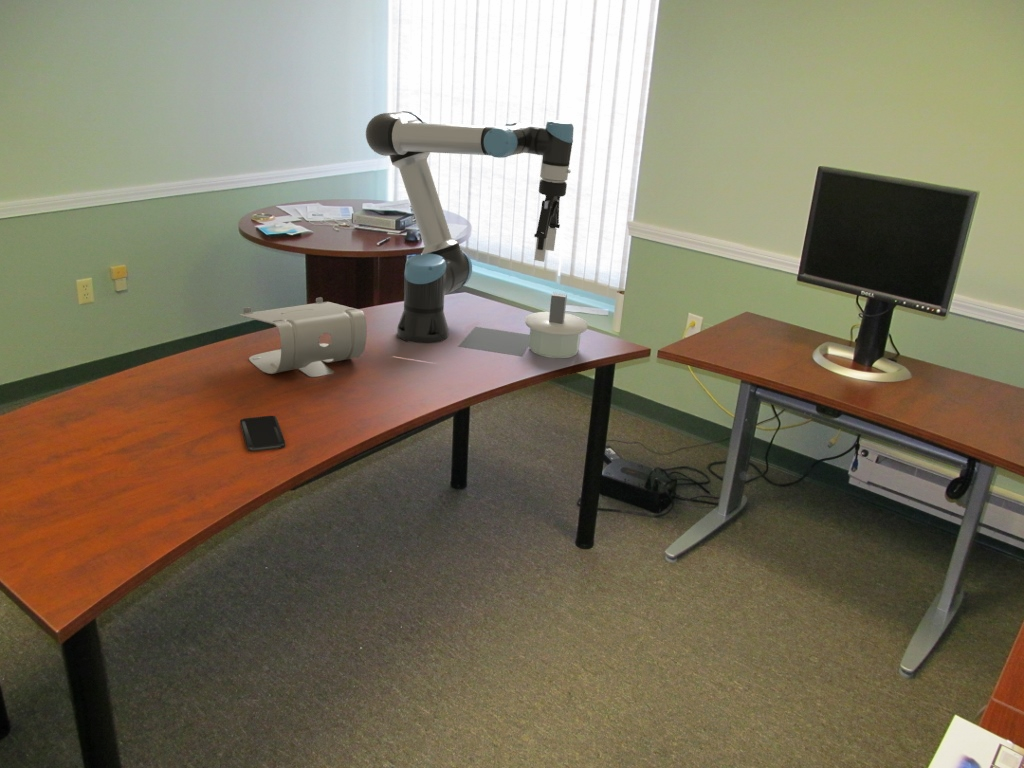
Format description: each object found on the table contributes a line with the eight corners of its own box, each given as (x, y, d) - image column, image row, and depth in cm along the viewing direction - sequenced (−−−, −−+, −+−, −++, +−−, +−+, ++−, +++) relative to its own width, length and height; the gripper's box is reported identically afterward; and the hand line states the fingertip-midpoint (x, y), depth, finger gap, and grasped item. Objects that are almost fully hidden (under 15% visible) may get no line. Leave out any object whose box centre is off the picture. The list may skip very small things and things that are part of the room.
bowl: (525, 354, 235) (527, 328, 232) (535, 339, 248) (537, 314, 245) (573, 362, 233) (576, 335, 230) (580, 346, 245) (583, 321, 242)
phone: (247, 449, 170) (239, 418, 182) (247, 453, 170) (239, 423, 183) (286, 444, 173) (276, 414, 185) (286, 449, 173) (276, 419, 186)
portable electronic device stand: (278, 387, 201) (276, 327, 195) (240, 356, 218) (237, 300, 212) (369, 368, 217) (370, 313, 211) (327, 341, 233) (326, 288, 227)
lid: (518, 334, 231) (521, 299, 227) (531, 316, 248) (534, 282, 243) (581, 344, 228) (585, 308, 224) (590, 324, 244) (594, 291, 240)
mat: (457, 347, 236) (457, 346, 236) (475, 327, 254) (475, 326, 253) (521, 357, 233) (521, 356, 233) (535, 336, 250) (535, 335, 250)
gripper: (558, 188, 213) (548, 267, 222) (574, 175, 236) (565, 247, 244) (530, 184, 214) (521, 263, 223) (549, 172, 237) (540, 243, 245)
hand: (544, 255), depth 233 cm, fingers open, 13 cm apart
